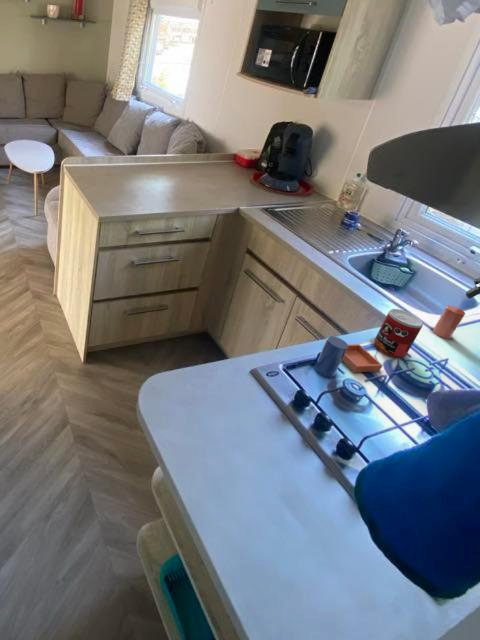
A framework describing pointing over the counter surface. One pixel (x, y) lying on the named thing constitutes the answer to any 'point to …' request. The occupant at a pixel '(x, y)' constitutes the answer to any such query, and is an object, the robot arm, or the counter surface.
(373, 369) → the terracotta tray
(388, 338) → the canned food
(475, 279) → the robot arm
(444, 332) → the cylinder
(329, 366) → the cylinder
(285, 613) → the counter surface
